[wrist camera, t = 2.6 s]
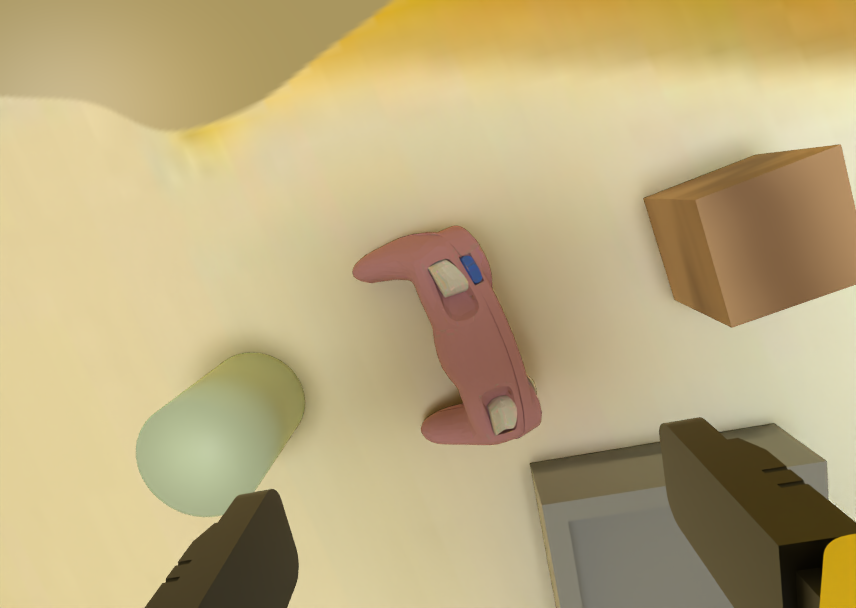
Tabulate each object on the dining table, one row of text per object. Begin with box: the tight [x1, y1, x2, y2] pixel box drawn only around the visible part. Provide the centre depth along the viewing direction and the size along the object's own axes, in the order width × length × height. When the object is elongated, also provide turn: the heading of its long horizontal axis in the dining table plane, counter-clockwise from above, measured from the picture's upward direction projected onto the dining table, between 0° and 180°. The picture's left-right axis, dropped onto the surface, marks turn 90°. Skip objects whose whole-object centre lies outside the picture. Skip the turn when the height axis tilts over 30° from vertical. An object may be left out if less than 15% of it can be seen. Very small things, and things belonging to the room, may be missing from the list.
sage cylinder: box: [136, 353, 305, 517], centre depth 23 cm, size 5×5×6 cm
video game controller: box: [353, 226, 542, 445], centre depth 22 cm, size 10×5×7 cm, turn 22°
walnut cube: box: [643, 145, 856, 327], centre depth 20 cm, size 5×5×5 cm
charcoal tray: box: [530, 424, 828, 608], centre depth 25 cm, size 12×16×4 cm
